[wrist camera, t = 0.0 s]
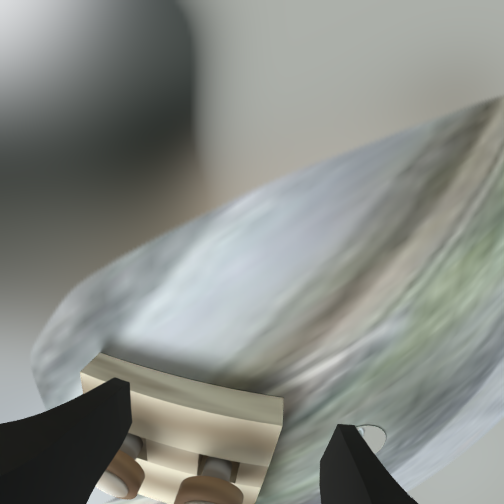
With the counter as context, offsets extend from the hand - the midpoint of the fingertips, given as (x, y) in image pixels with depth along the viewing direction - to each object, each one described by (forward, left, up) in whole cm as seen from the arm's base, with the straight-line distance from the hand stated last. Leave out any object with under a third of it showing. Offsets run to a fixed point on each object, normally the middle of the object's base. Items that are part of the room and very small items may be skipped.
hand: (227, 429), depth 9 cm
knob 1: (-12, +8, -8) cm, 16 cm away
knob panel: (-13, +4, -10) cm, 17 cm away
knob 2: (-12, +1, -8) cm, 14 cm away
